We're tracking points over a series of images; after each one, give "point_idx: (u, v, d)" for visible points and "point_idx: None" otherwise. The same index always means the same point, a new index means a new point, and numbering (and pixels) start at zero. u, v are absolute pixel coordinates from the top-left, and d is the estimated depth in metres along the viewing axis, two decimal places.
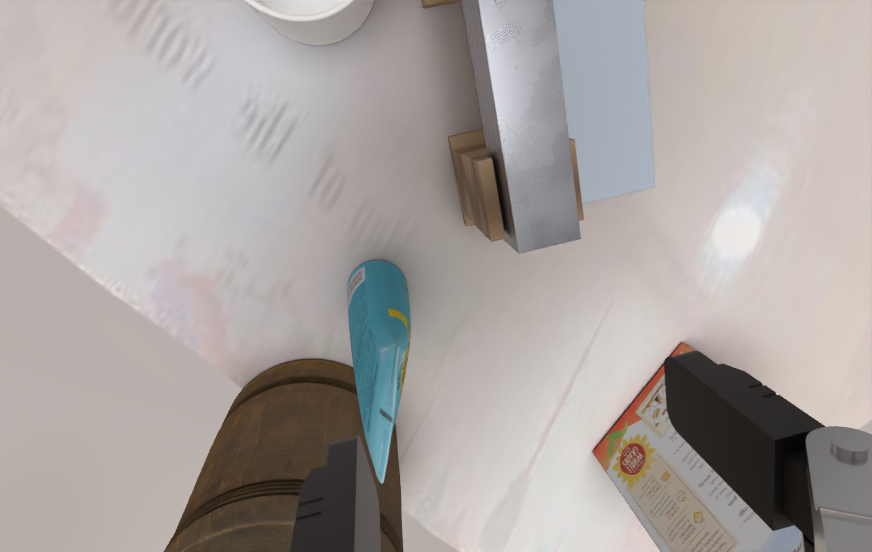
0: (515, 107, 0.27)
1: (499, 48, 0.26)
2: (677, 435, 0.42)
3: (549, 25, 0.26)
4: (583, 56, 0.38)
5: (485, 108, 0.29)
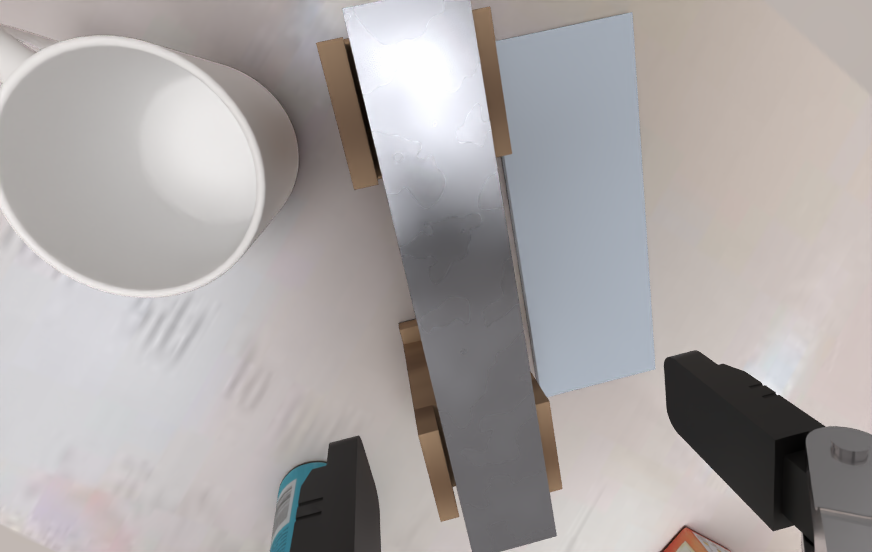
0: (464, 398, 0.20)
1: (438, 331, 0.19)
2: None
3: (509, 299, 0.18)
4: (566, 230, 0.30)
5: None
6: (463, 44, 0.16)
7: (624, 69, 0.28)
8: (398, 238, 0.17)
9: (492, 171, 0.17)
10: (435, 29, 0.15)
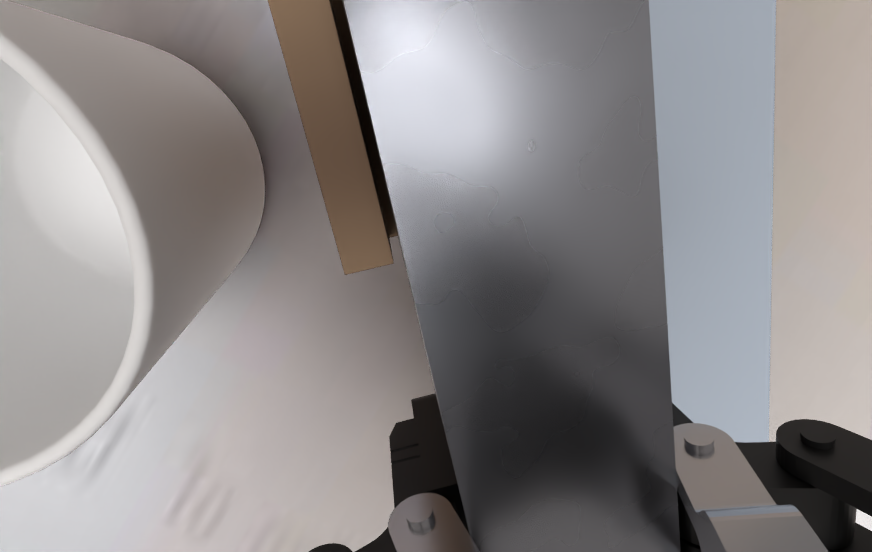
0: None
1: None
2: None
3: (659, 497, 0.09)
4: None
5: None
6: None
7: (758, 53, 0.18)
8: (439, 394, 0.08)
9: (652, 250, 0.08)
10: None
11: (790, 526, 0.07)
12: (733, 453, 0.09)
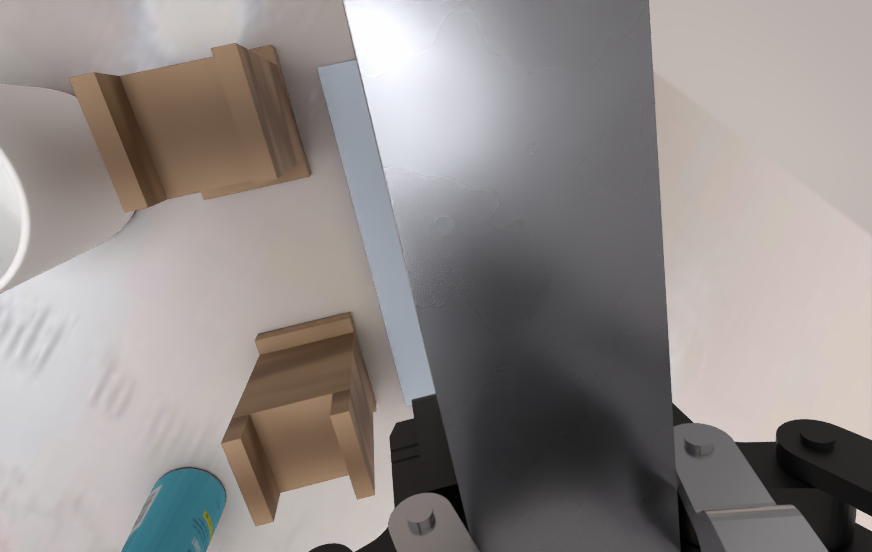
0: None
1: None
2: None
3: (659, 499, 0.09)
4: None
5: None
6: None
7: None
8: (440, 397, 0.08)
9: (652, 253, 0.08)
10: None
11: (790, 526, 0.07)
12: (733, 453, 0.09)
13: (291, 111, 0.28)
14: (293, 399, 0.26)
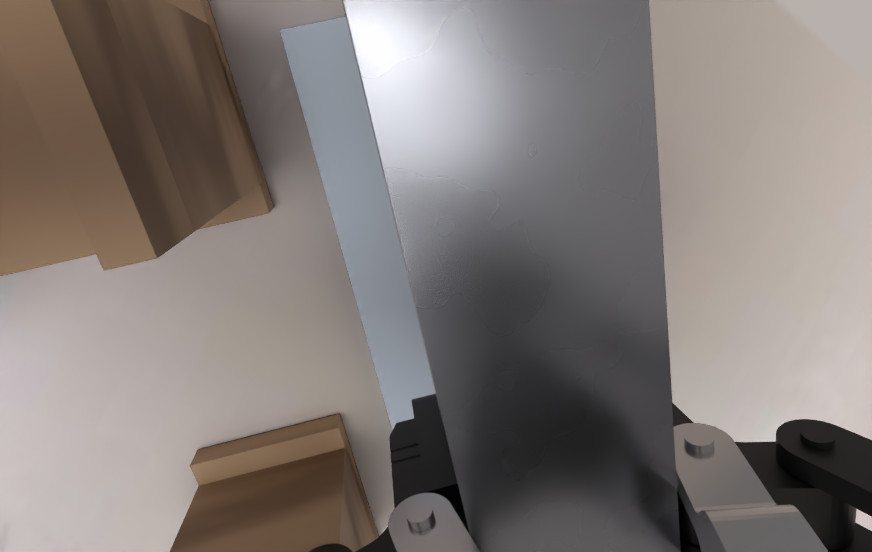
0: None
1: None
2: None
3: (659, 500, 0.09)
4: None
5: None
6: None
7: None
8: (440, 398, 0.08)
9: (652, 254, 0.08)
10: None
11: (790, 526, 0.07)
12: (733, 453, 0.09)
13: (237, 105, 0.17)
14: None
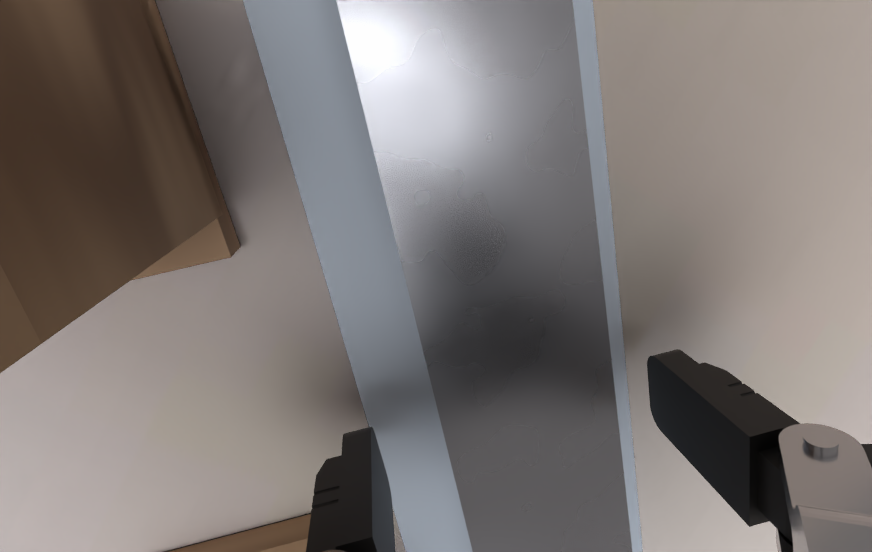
0: None
1: (485, 479, 0.11)
2: None
3: (603, 425, 0.11)
4: None
5: None
6: None
7: None
8: (421, 336, 0.10)
9: (587, 219, 0.10)
10: None
11: None
12: (863, 456, 0.08)
13: (185, 107, 0.12)
14: None
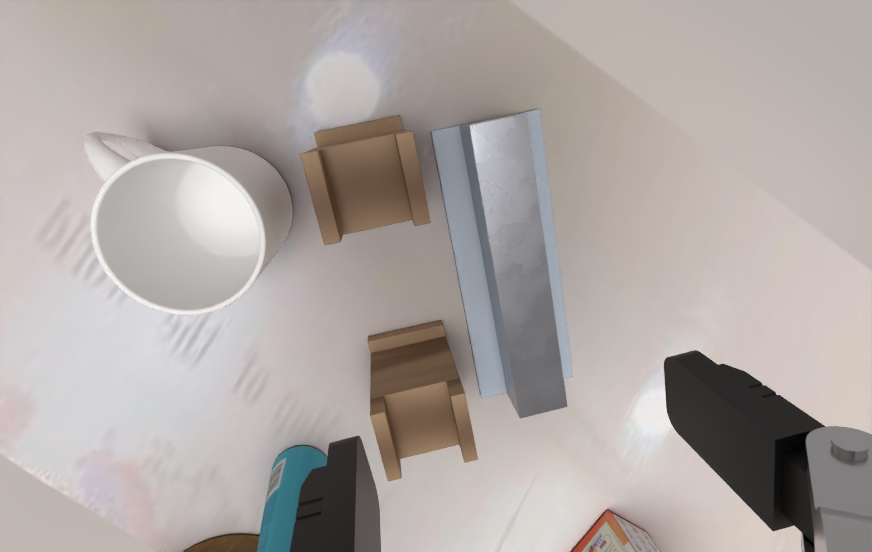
0: (517, 319, 0.36)
1: (505, 281, 0.36)
2: None
3: (543, 265, 0.36)
4: None
5: (495, 308, 0.39)
6: (524, 140, 0.33)
7: (536, 149, 0.37)
8: (488, 232, 0.34)
9: (536, 199, 0.34)
10: (511, 134, 0.33)
11: None
12: None
13: None
14: (415, 385, 0.34)
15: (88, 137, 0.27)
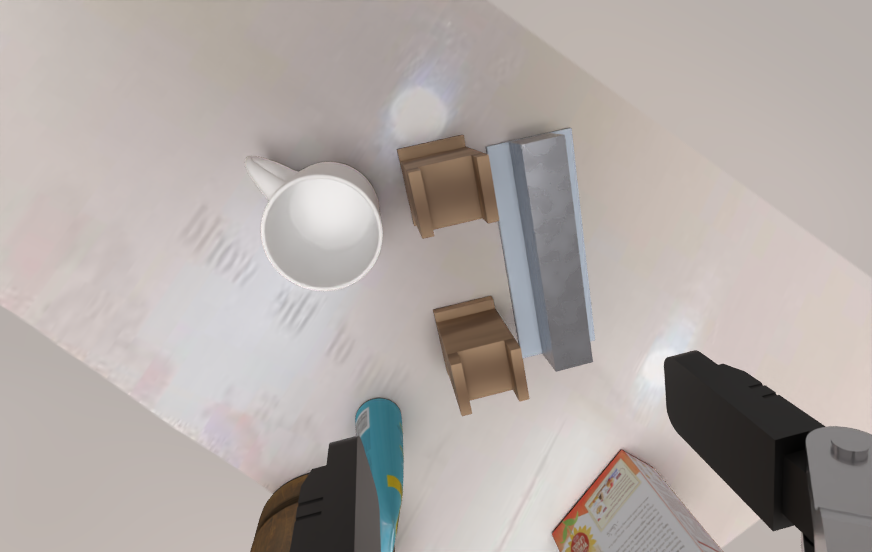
0: (555, 293, 0.47)
1: (546, 264, 0.46)
2: (612, 532, 0.54)
3: (575, 251, 0.46)
4: None
5: (535, 285, 0.49)
6: (562, 155, 0.43)
7: (568, 159, 0.47)
8: (534, 226, 0.45)
9: (570, 200, 0.44)
10: (552, 150, 0.43)
11: None
12: None
13: None
14: (480, 344, 0.44)
15: (249, 161, 0.37)
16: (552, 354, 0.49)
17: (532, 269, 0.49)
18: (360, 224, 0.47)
